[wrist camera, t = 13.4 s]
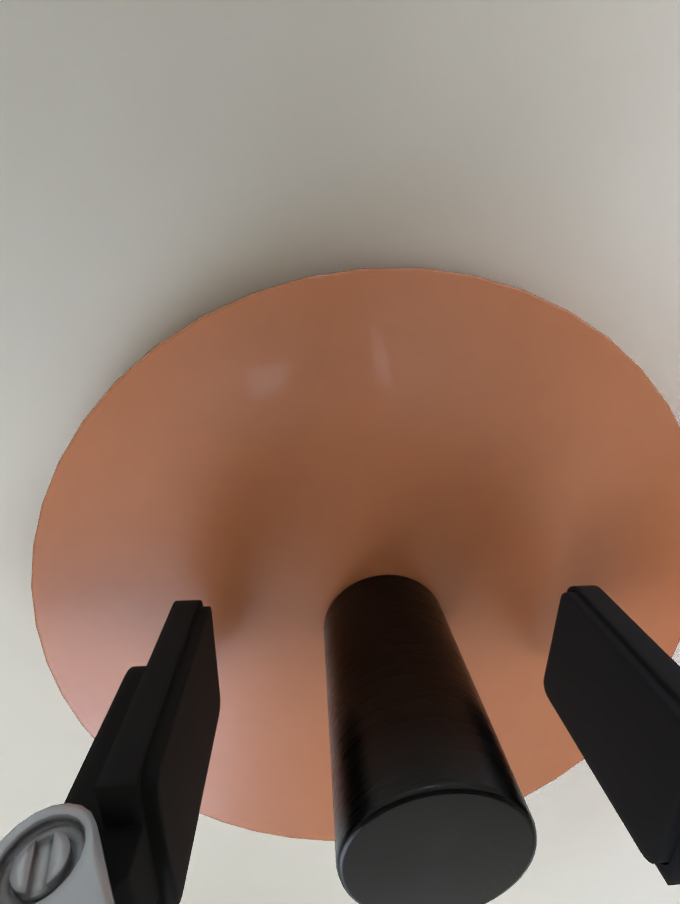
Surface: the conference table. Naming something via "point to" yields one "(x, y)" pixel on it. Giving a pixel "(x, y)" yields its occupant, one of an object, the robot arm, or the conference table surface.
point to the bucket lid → (368, 556)
